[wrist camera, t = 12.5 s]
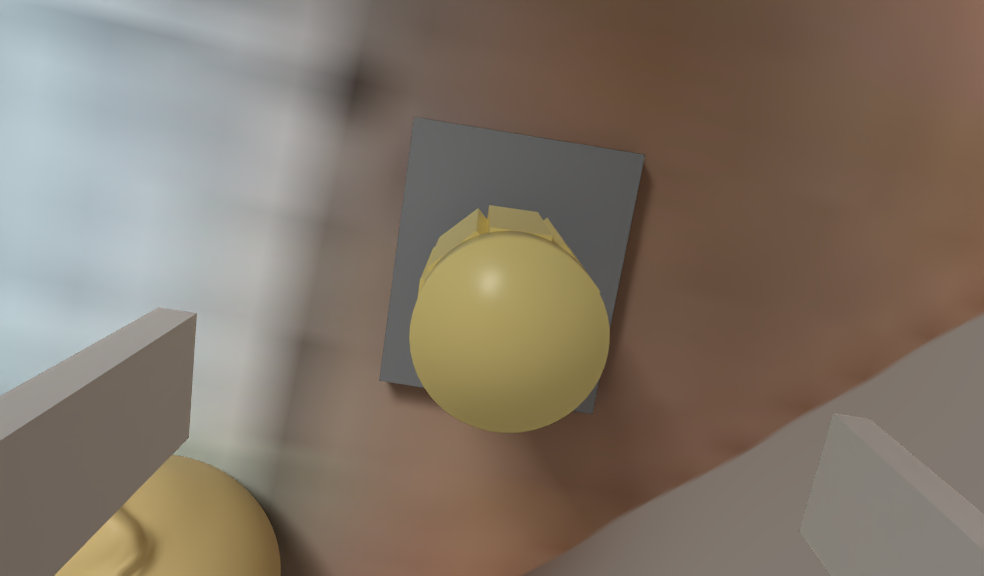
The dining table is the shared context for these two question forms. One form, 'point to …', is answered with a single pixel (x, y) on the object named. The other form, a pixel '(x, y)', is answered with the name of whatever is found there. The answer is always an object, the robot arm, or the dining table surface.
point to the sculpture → (183, 529)
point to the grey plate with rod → (512, 184)
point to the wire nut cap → (507, 323)
